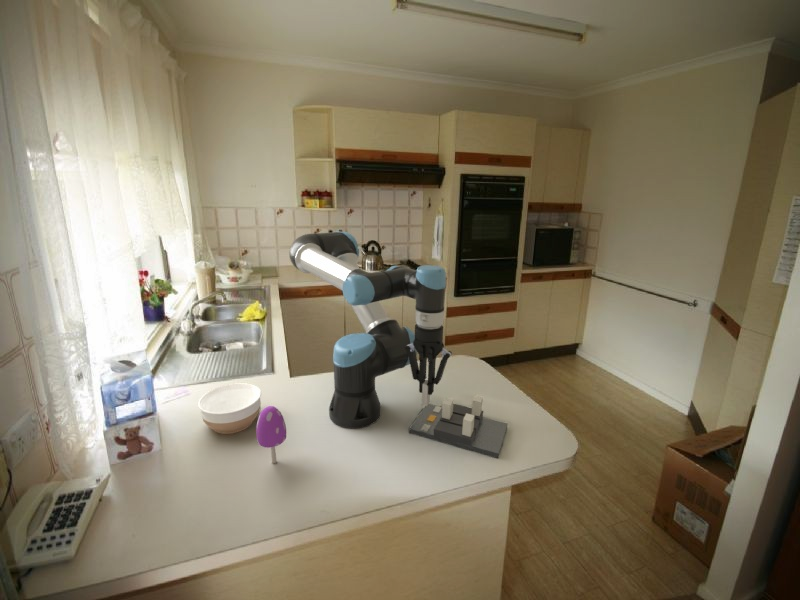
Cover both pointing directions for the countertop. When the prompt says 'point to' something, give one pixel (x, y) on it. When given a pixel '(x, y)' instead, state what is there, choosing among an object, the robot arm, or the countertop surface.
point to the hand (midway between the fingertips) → (425, 403)
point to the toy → (271, 429)
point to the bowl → (230, 407)
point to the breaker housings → (461, 423)
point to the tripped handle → (447, 408)
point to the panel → (483, 443)
